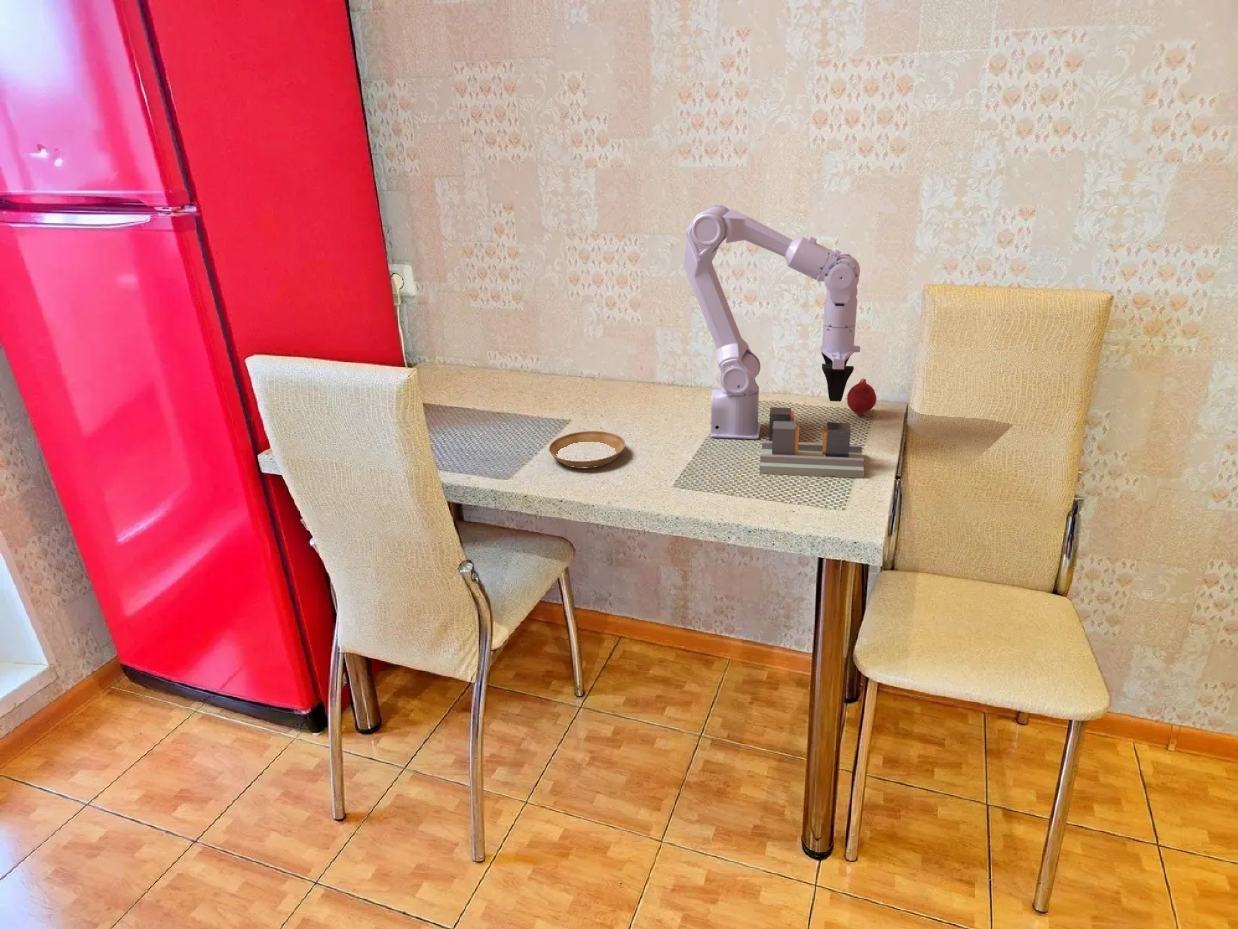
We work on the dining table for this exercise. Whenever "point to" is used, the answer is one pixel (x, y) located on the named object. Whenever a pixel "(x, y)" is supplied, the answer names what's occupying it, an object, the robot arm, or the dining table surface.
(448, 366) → the dining table surface
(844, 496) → the dining table surface
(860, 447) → the rail
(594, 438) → the plant saucer
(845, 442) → the brushed grey cube
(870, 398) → the onion
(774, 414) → the block
